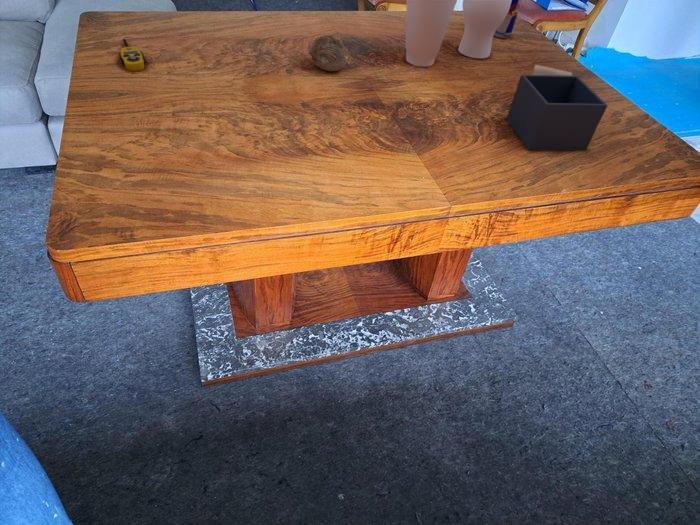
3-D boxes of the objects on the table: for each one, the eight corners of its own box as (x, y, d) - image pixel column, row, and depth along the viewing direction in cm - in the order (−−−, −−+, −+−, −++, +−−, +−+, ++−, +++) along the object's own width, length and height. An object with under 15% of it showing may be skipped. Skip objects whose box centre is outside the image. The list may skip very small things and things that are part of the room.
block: (524, 94, 116) (535, 64, 111) (560, 102, 115) (572, 72, 110) (521, 109, 110) (532, 78, 106) (558, 118, 109) (571, 87, 104)
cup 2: (465, 62, 126) (482, -7, 115) (444, 44, 133) (459, -23, 122) (504, 60, 129) (524, -8, 118) (481, 42, 136) (499, -24, 125)
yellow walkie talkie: (122, 63, 105) (111, 35, 114) (124, 72, 106) (113, 43, 115) (147, 61, 107) (134, 33, 116) (148, 70, 108) (135, 42, 117)
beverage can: (495, 38, 139) (512, -22, 129) (489, 31, 143) (506, -28, 132) (512, 39, 140) (531, -20, 129) (506, 32, 144) (524, -27, 133)
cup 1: (451, 70, 122) (468, -2, 111) (405, 72, 119) (418, -2, 108) (432, 49, 130) (446, -19, 119) (389, 51, 127) (399, -20, 115)
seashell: (315, 79, 113) (348, 74, 115) (314, 48, 108) (349, 43, 110) (303, 60, 119) (335, 55, 121) (302, 29, 114) (335, 25, 116)
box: (586, 150, 100) (607, 105, 94) (528, 150, 98) (546, 104, 92) (559, 118, 109) (577, 75, 102) (506, 118, 107) (521, 74, 100)
